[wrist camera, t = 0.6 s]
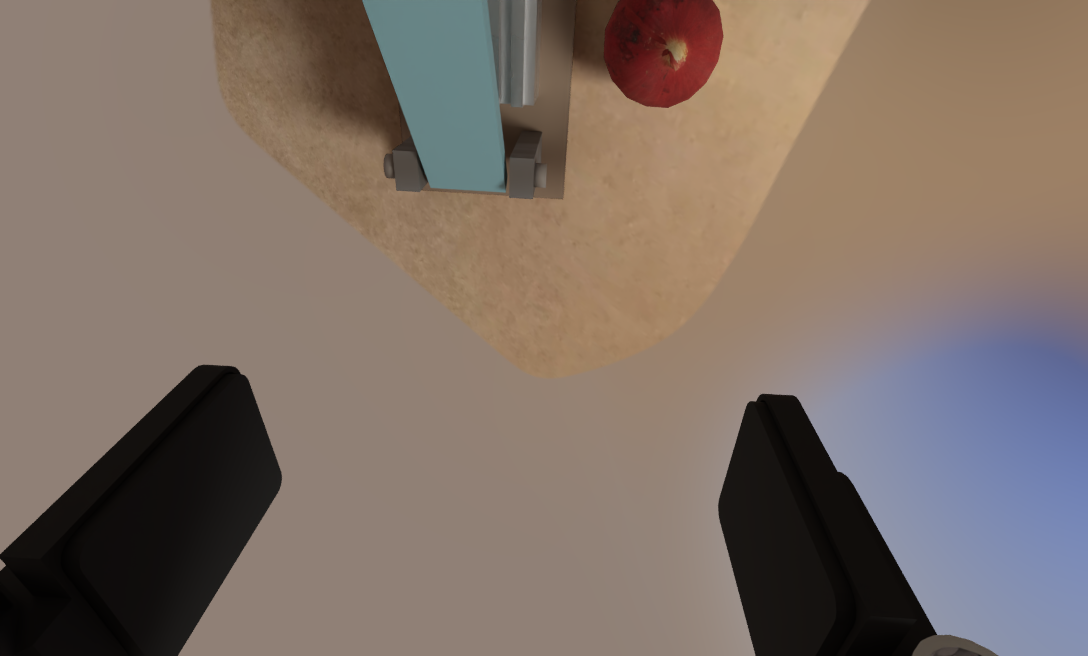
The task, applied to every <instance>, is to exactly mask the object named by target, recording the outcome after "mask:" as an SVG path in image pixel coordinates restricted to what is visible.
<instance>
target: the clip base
mask: <svg viewBox="0 0 1088 656" xmlns="http://www.w3.org/2000/svg"><path fill="white" fill-rule="evenodd" d="M575 13H576V0H542V14H541V42H540V69H539V95H538V97H537V99H536V102H535V104H534V105H524V106H523V107H511V104H500V105H499V106H500V115H501V123H502V132H503V141H504V149H505V158H506V166H507V175H508V178H507V187H506V193H504V192H488V191H472V190H456V189H440V188H431V187H430V185H429V182H428V179H427V176H426V174H425V171H424V168H423V166H422V163H421V160H420V157H419V155H418V152H417V149H416V146H415V144H414V141H413V138H412V135H411V133H410V130H409V127H408V125H407V122H406V119H405V116H404V114H403V111H402V108H401V105H400V103H399V112H400V123H401V133H402V143H401V144H400V145H399V146H397V147H396V148H395V149H393V150H392V152H393V154H386V155H385V158H384V172H385V176H386V177H387V178H395V181H396V190H397V191H413V192H420V191H421V190H423V191H439V192H455V193H471V194H487V195H502V196H509V198H524V199H533V197H534V198H550V199H563V195H564V180H565V165H566V150H567V135H568V119H569V104H570V89H571V74H572V59H573V44H574V29H575ZM398 101H399V100H398Z"/></svg>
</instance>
